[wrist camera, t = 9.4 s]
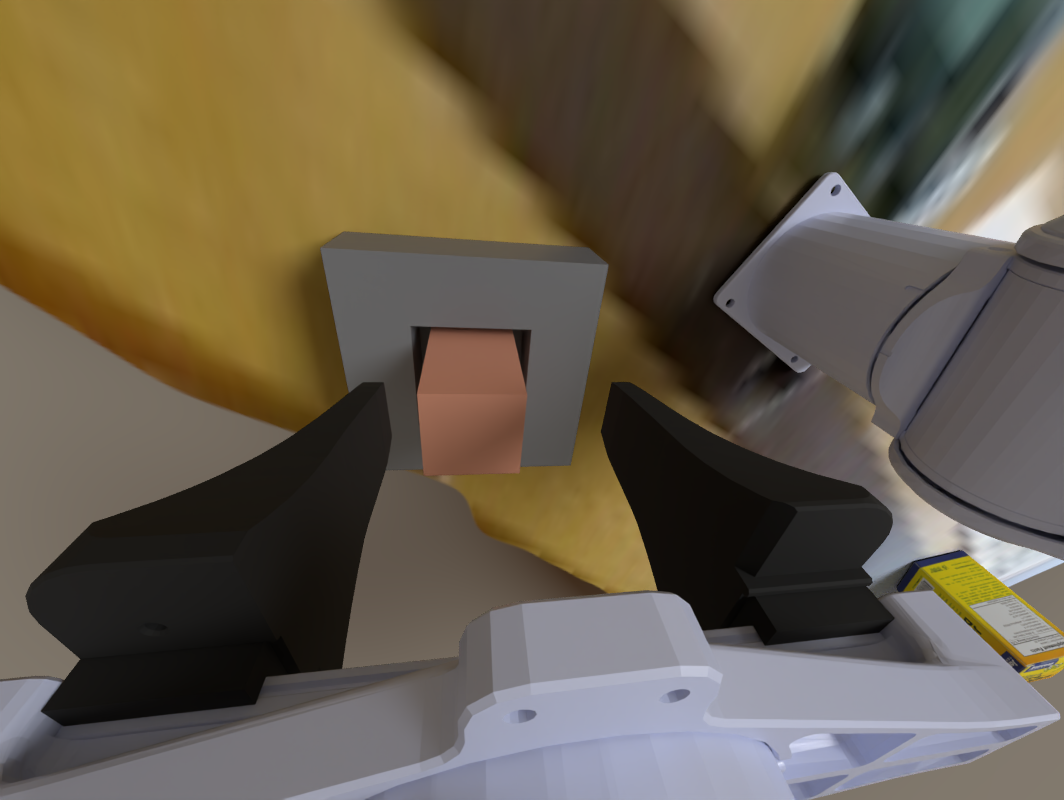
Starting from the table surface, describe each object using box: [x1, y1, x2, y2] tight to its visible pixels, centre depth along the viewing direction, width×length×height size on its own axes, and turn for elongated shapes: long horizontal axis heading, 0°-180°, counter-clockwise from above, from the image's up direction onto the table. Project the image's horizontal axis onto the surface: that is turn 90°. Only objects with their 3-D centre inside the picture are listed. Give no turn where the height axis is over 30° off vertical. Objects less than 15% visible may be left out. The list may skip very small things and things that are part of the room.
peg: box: [417, 327, 527, 476], centre depth 19 cm, size 4×4×8 cm
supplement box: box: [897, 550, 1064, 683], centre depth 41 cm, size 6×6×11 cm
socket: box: [320, 232, 608, 470], centre depth 21 cm, size 12×12×4 cm
